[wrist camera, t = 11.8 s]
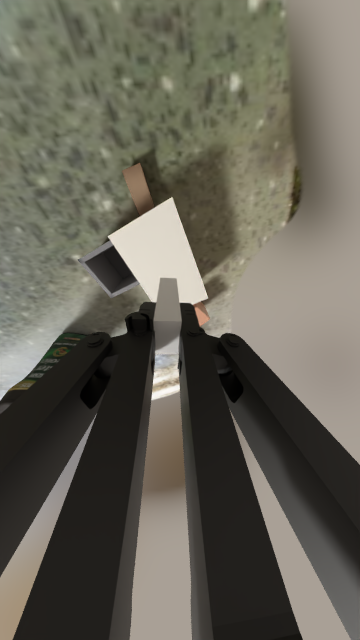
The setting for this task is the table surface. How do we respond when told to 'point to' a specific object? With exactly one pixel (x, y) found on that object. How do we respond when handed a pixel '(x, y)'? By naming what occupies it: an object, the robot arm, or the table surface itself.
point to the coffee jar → (42, 367)
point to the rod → (139, 188)
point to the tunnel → (147, 257)
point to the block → (201, 313)
